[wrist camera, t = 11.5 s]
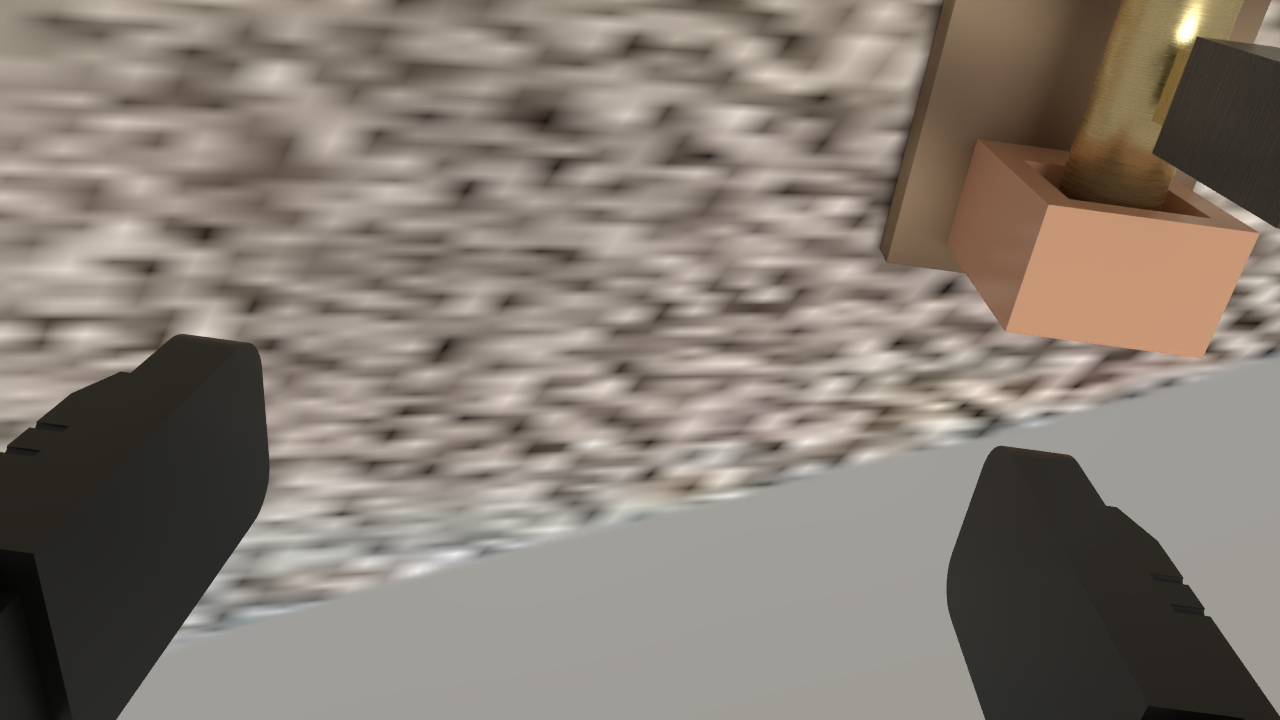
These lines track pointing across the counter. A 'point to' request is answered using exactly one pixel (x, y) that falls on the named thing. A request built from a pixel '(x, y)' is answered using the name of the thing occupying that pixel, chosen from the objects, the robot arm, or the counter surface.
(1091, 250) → the socket block
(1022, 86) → the sleeve stand
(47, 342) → the counter surface
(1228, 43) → the gold and grey t-piece
